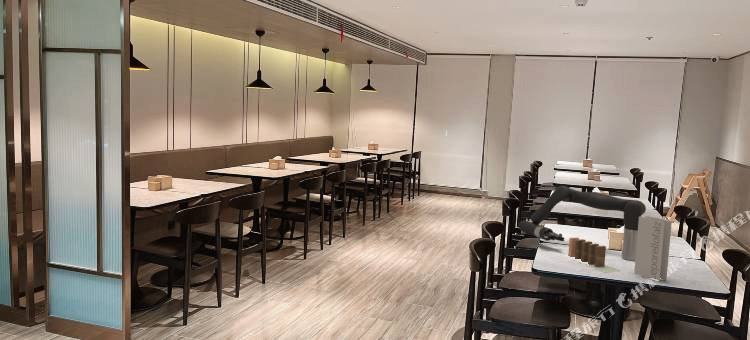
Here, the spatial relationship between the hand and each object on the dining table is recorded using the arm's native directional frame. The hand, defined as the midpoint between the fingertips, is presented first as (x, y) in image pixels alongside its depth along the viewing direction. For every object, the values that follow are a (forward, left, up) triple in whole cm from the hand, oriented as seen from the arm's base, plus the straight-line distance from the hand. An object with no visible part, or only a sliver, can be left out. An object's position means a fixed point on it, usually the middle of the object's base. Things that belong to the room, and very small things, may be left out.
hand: (563, 239), depth 325 cm
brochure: (-28, +44, -9) cm, 53 cm away
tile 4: (-8, +22, -8) cm, 25 cm away
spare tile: (-3, +8, -8) cm, 12 cm away
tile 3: (-6, +18, -8) cm, 21 cm away
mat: (-7, +20, -9) cm, 23 cm away
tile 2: (-5, +13, -8) cm, 16 cm away
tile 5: (-10, +27, -8) cm, 30 cm away
